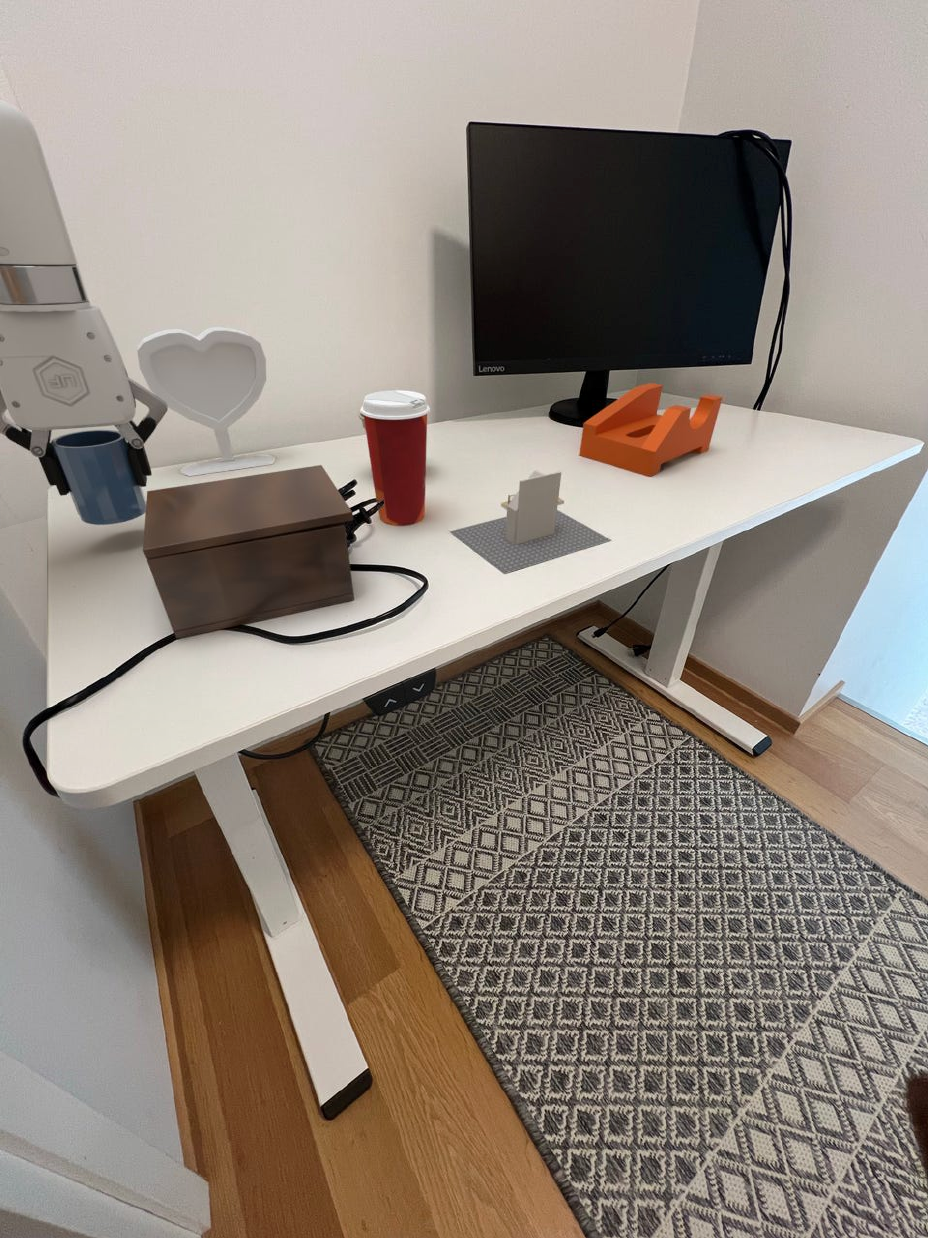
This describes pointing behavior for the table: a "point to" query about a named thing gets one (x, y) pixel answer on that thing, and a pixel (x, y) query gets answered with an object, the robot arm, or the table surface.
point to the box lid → (240, 510)
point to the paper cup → (397, 452)
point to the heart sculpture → (207, 384)
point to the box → (253, 579)
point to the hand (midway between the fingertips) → (105, 485)
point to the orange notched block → (648, 430)
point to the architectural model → (530, 528)
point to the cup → (99, 476)
